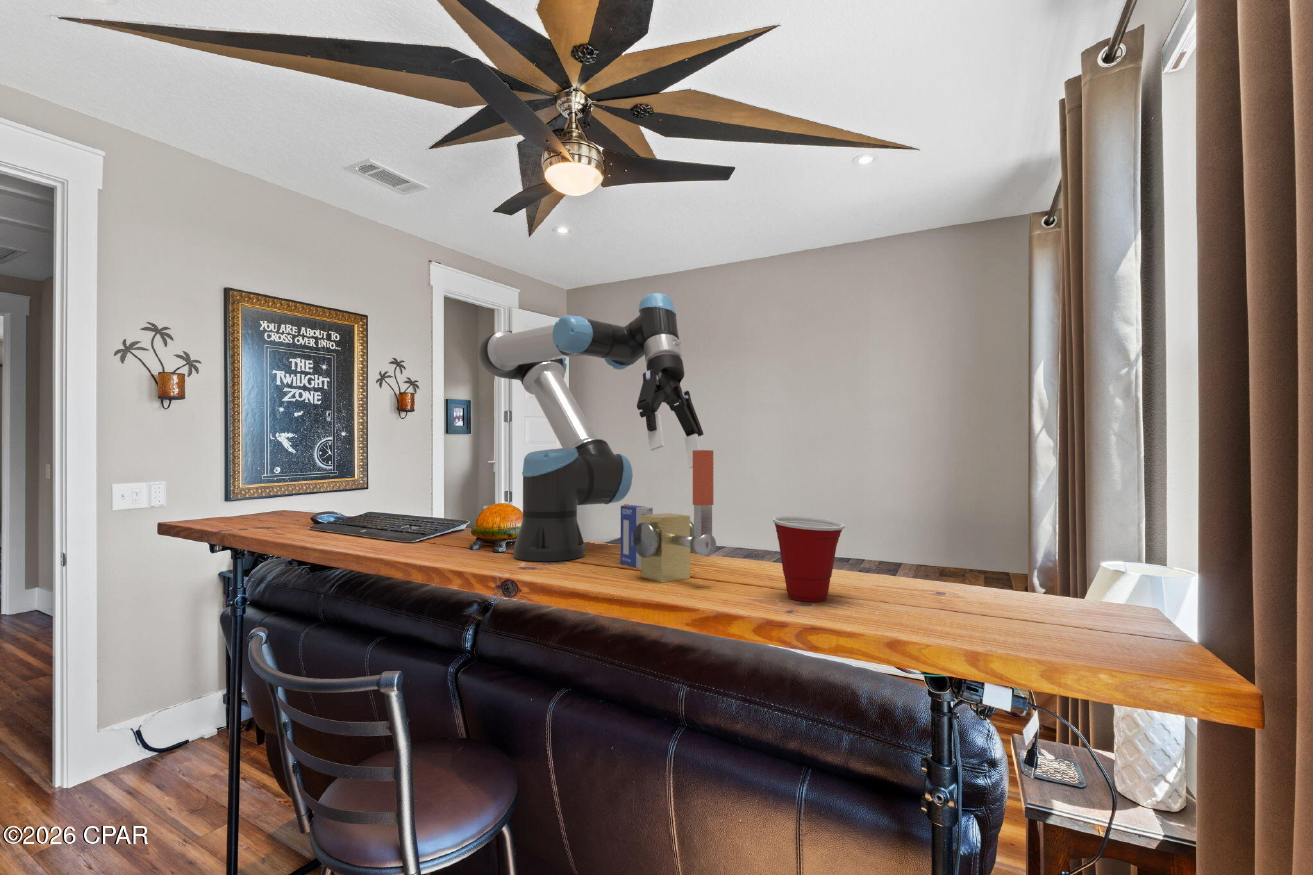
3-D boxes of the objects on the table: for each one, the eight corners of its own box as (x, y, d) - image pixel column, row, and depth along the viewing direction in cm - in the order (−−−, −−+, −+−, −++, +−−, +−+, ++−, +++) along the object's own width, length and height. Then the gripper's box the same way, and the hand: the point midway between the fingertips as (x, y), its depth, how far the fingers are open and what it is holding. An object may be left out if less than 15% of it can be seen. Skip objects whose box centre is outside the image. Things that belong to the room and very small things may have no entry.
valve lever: (690, 555, 95) (689, 450, 96) (706, 553, 97) (706, 450, 98) (699, 557, 93) (699, 450, 94) (716, 555, 95) (715, 450, 96)
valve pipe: (633, 578, 102) (633, 515, 103) (676, 571, 108) (676, 512, 109) (673, 589, 93) (673, 521, 94) (717, 581, 99) (717, 517, 100)
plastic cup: (825, 611, 80) (824, 524, 81) (758, 598, 87) (758, 518, 88) (858, 597, 88) (857, 518, 89) (794, 587, 95) (794, 514, 96)
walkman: (620, 563, 117) (620, 503, 117) (631, 561, 119) (632, 503, 119) (641, 569, 111) (641, 506, 111) (653, 567, 112) (653, 505, 113)
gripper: (643, 328, 107) (656, 432, 98) (710, 377, 126) (725, 467, 118) (611, 344, 111) (621, 446, 102) (681, 389, 130) (694, 477, 121)
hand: (677, 457), depth 110 cm, fingers open, 13 cm apart
